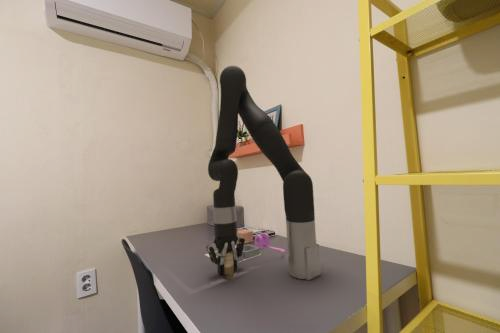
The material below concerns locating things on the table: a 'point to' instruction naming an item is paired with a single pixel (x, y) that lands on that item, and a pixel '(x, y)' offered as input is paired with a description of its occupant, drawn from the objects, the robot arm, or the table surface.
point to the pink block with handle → (264, 242)
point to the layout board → (246, 253)
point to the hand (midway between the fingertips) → (227, 272)
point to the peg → (228, 265)
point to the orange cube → (245, 235)
